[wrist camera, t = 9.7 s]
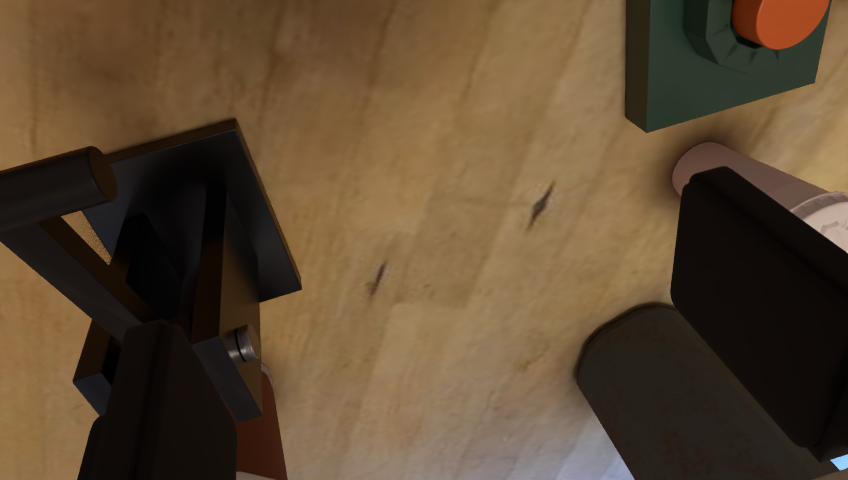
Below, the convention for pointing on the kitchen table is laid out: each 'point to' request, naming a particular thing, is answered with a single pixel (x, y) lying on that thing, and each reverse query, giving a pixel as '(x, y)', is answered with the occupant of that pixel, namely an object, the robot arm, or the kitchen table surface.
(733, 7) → the button
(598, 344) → the bottle
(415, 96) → the kitchen table surface
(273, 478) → the coffee cup
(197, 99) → the kitchen table surface
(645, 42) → the button block
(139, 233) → the bracket
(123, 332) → the lever
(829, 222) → the smoothie
